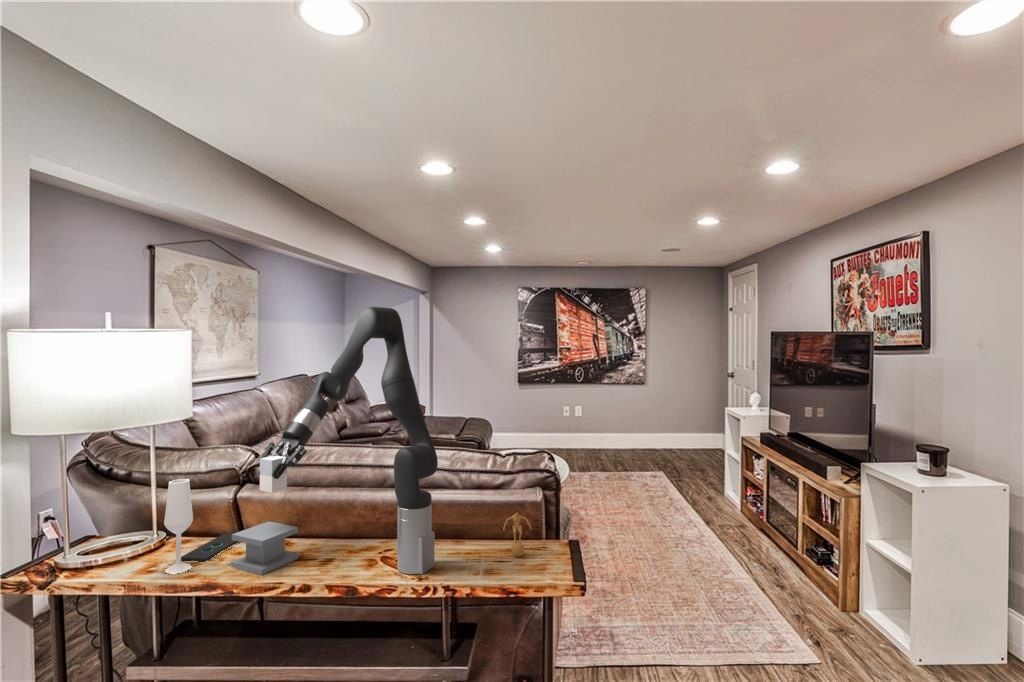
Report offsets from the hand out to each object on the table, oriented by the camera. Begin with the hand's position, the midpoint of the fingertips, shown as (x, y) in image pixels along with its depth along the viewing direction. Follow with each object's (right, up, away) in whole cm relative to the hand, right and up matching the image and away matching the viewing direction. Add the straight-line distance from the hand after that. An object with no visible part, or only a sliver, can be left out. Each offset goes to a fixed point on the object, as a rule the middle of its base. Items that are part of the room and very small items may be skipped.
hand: (267, 476), depth 146 cm
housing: (+1, -4, +2) cm, 5 cm away
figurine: (+70, -24, +5) cm, 75 cm away
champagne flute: (-22, -25, -4) cm, 33 cm away
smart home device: (-20, -25, +10) cm, 34 cm away
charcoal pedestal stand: (0, -24, 0) cm, 24 cm away
